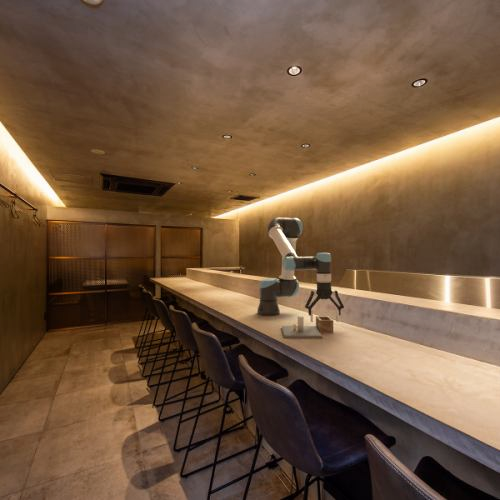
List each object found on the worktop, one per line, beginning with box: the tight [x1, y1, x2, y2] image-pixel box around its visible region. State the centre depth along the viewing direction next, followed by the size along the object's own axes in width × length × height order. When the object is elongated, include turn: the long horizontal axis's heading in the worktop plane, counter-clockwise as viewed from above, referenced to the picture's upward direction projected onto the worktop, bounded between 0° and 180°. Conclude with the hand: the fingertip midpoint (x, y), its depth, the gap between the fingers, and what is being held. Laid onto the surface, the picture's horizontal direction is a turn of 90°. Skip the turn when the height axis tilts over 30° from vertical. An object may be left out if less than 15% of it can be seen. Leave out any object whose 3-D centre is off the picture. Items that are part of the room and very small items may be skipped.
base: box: [281, 316, 323, 339], centre depth 148 cm, size 18×18×8 cm
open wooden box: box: [315, 315, 334, 333], centre depth 154 cm, size 10×7×6 cm
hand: (324, 321), depth 154 cm, fingers open, 13 cm apart
